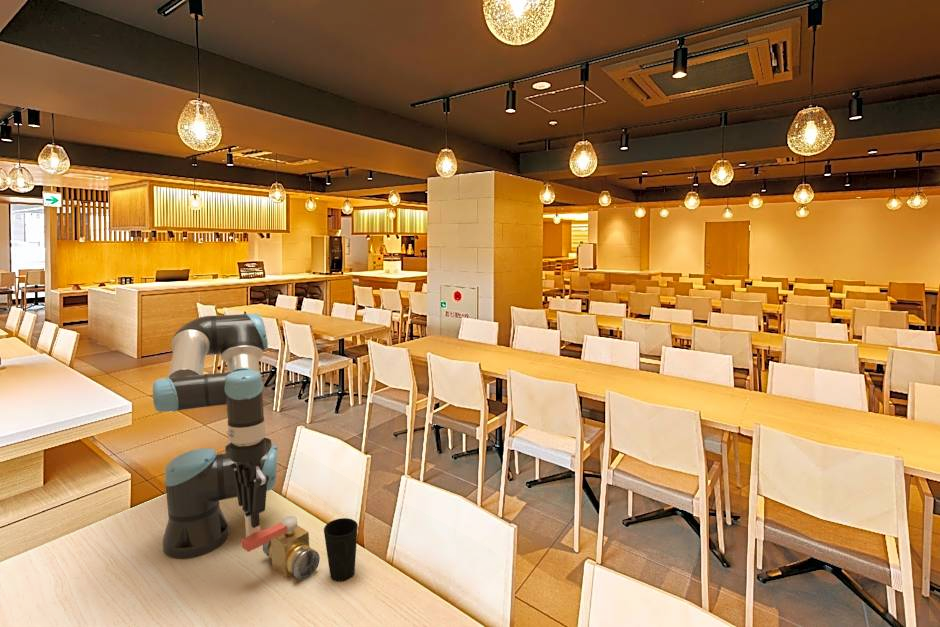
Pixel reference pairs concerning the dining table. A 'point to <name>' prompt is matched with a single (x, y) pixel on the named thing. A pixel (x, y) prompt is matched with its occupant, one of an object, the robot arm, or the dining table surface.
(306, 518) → the dining table surface
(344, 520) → the cup
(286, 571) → the valve body
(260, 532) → the lever
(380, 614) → the dining table surface
